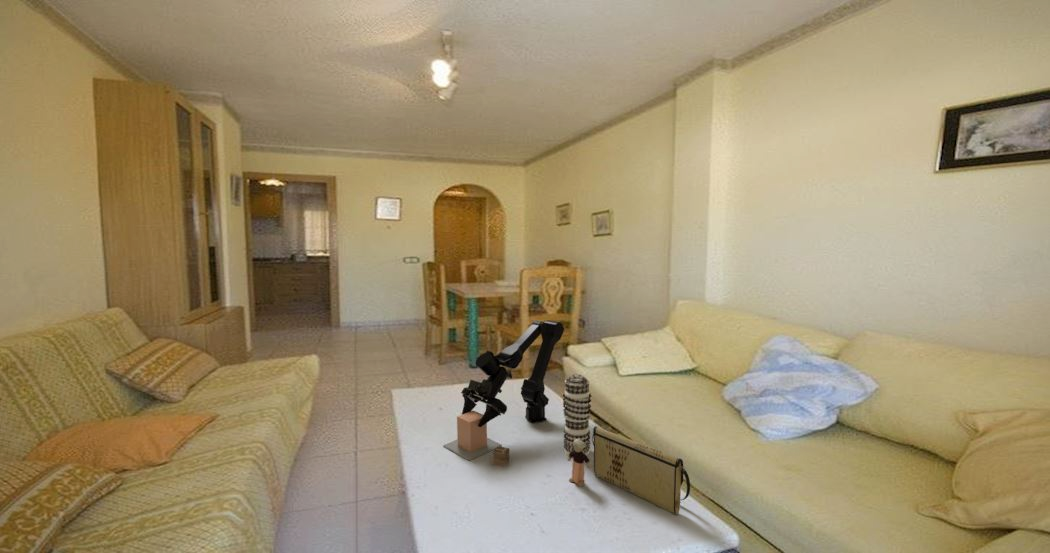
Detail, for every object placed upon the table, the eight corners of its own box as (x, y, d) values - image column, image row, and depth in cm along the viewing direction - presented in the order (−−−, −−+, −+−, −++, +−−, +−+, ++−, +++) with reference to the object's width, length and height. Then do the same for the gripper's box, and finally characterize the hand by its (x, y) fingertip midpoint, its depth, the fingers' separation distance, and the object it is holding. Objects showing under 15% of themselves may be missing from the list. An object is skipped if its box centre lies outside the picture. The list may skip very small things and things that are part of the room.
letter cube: (498, 458, 140) (497, 446, 140) (509, 460, 139) (509, 448, 139) (492, 464, 137) (492, 451, 136) (504, 466, 135) (504, 453, 135)
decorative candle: (590, 459, 139) (590, 382, 137) (561, 456, 141) (561, 380, 138) (591, 446, 148) (592, 373, 146) (564, 443, 150) (564, 371, 147)
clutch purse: (694, 509, 113) (696, 453, 112) (681, 521, 109) (682, 463, 107) (601, 466, 135) (601, 418, 134) (586, 474, 130) (587, 425, 129)
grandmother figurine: (563, 482, 126) (563, 439, 125) (568, 475, 130) (568, 434, 128) (589, 489, 123) (589, 445, 121) (593, 482, 126) (594, 439, 125)
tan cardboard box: (473, 438, 153) (473, 410, 152) (487, 444, 148) (486, 416, 148) (457, 445, 148) (457, 416, 147) (470, 452, 143) (470, 422, 143)
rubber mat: (475, 433, 158) (475, 432, 158) (501, 445, 148) (501, 444, 148) (443, 446, 148) (443, 445, 148) (468, 461, 139) (468, 459, 138)
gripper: (464, 364, 156) (439, 403, 149) (500, 376, 143) (474, 419, 136) (482, 381, 162) (458, 419, 155) (517, 393, 149) (493, 435, 142)
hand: (470, 422), depth 147 cm, fingers open, 9 cm apart
